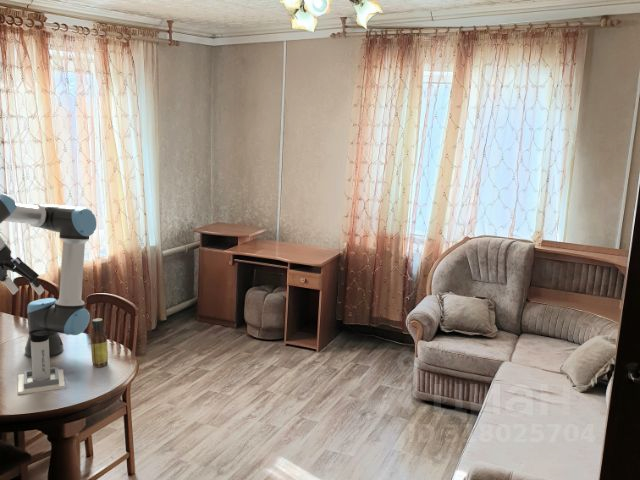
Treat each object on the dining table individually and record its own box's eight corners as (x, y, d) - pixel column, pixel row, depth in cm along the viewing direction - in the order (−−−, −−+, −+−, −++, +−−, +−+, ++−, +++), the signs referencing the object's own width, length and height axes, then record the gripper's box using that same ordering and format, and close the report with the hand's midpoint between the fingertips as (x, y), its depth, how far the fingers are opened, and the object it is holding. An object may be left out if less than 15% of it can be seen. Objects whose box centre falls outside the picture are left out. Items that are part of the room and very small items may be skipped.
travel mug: (35, 376, 234) (32, 328, 230) (52, 376, 234) (50, 328, 230) (29, 383, 228) (26, 334, 224) (47, 383, 228) (44, 334, 224)
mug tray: (18, 376, 235) (18, 369, 234) (62, 371, 242) (62, 364, 241) (18, 394, 221) (17, 387, 220) (65, 387, 228) (64, 380, 227)
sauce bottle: (111, 363, 251) (110, 318, 247) (101, 369, 246) (100, 323, 241) (98, 360, 253) (97, 316, 249) (88, 366, 248) (86, 320, 244)
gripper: (-36, 256, 214) (-2, 298, 226) (12, 255, 203) (46, 300, 215) (-21, 242, 219) (12, 285, 231) (27, 241, 209) (59, 285, 221)
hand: (28, 292), depth 223 cm, fingers open, 13 cm apart
